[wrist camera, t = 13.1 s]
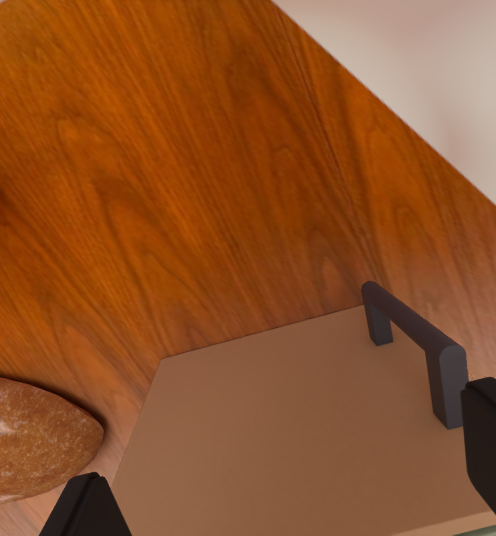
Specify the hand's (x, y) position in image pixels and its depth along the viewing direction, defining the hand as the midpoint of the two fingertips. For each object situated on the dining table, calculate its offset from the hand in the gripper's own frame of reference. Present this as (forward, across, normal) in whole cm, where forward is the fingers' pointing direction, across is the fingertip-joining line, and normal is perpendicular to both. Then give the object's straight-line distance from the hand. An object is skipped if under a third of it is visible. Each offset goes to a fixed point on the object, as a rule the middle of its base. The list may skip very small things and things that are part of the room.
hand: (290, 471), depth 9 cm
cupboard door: (+29, 0, +8) cm, 30 cm away
